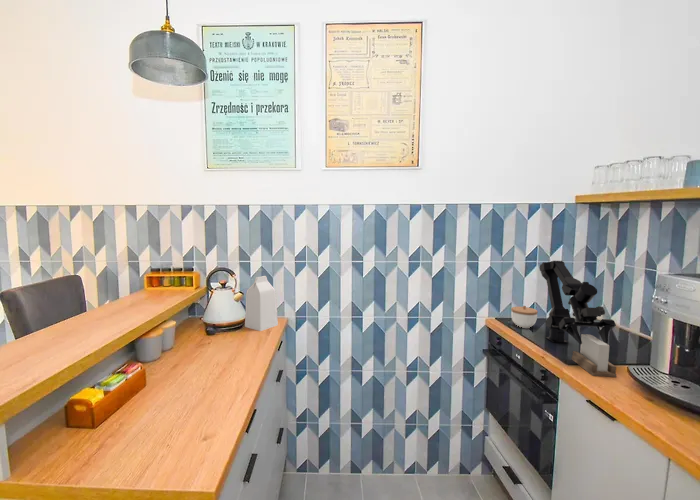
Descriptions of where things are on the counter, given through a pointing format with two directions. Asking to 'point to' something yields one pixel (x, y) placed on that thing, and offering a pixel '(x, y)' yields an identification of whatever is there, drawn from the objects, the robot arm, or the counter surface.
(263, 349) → the counter surface
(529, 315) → the lidded bowl
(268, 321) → the milk
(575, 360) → the flanged channel block
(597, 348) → the clay slab
